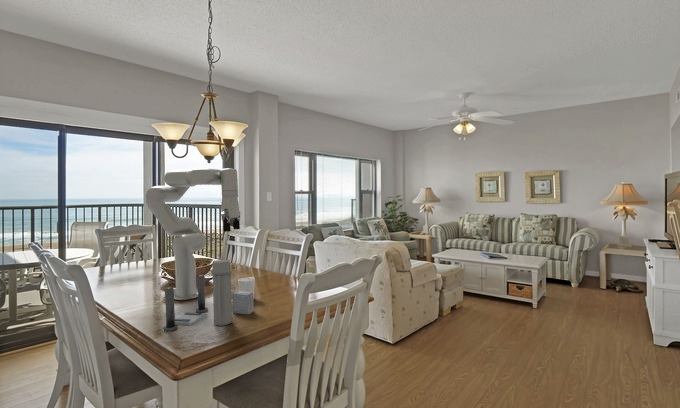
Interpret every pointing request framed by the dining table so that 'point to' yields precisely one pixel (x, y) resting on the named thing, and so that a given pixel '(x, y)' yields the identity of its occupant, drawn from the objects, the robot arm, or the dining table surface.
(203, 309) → the post
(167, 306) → the post
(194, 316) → the paddle plate
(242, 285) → the white cup
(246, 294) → the medicine box
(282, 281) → the dining table surface
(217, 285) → the water bottle
